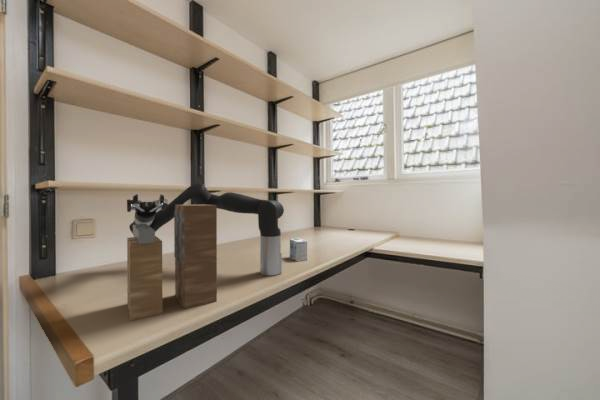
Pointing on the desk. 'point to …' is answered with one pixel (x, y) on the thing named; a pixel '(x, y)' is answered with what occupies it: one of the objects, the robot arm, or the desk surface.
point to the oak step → (144, 278)
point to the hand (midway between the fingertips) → (149, 196)
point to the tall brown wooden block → (195, 254)
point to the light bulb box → (298, 249)
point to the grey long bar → (143, 233)
